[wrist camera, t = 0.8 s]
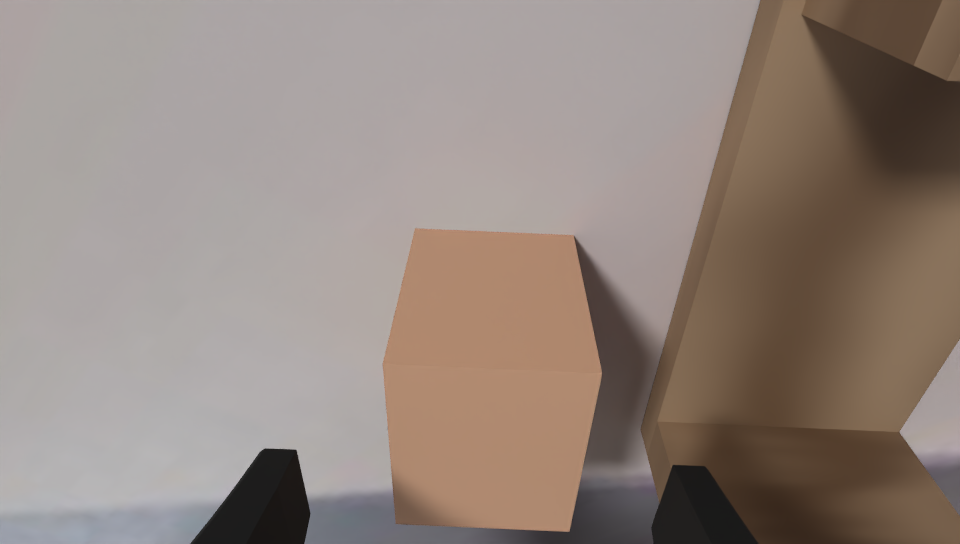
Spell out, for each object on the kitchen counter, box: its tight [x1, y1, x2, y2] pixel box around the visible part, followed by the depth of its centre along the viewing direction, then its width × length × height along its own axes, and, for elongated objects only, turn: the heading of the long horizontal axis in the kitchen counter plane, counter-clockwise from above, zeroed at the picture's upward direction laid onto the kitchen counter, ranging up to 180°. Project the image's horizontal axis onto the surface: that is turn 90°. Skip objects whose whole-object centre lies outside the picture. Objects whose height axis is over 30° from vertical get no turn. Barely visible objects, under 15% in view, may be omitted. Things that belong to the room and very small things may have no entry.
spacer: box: [383, 229, 602, 532], centre depth 14 cm, size 4×5×5 cm
